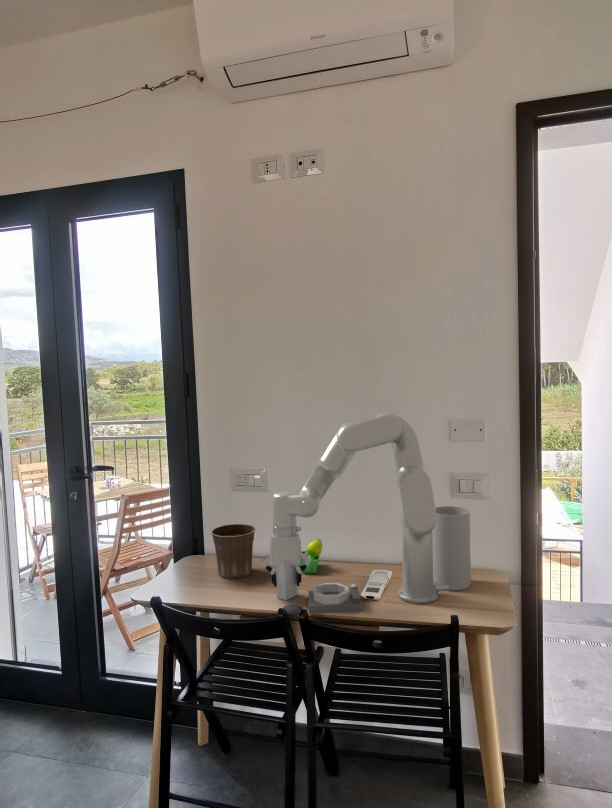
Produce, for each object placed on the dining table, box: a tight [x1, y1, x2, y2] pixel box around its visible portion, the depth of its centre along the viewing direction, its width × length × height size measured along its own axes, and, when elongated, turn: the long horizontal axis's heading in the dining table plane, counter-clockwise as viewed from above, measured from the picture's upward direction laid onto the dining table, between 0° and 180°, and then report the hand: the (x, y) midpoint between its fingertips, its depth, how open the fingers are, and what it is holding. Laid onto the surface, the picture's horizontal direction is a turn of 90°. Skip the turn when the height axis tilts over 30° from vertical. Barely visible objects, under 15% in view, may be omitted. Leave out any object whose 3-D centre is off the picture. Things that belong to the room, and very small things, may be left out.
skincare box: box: [275, 562, 299, 601], centre depth 175 cm, size 6×4×12 cm
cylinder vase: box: [432, 505, 472, 591], centre depth 180 cm, size 12×12×25 cm
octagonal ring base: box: [308, 582, 363, 613], centre depth 168 cm, size 16×12×4 cm
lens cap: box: [282, 603, 303, 615], centre depth 164 cm, size 6×6×1 cm
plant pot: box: [210, 523, 256, 579], centre depth 197 cm, size 16×16×16 cm
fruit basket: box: [300, 538, 323, 574], centre depth 200 cm, size 11×9×11 cm
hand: (286, 584), depth 175 cm, fingers closed on skincare box, 6 cm apart
